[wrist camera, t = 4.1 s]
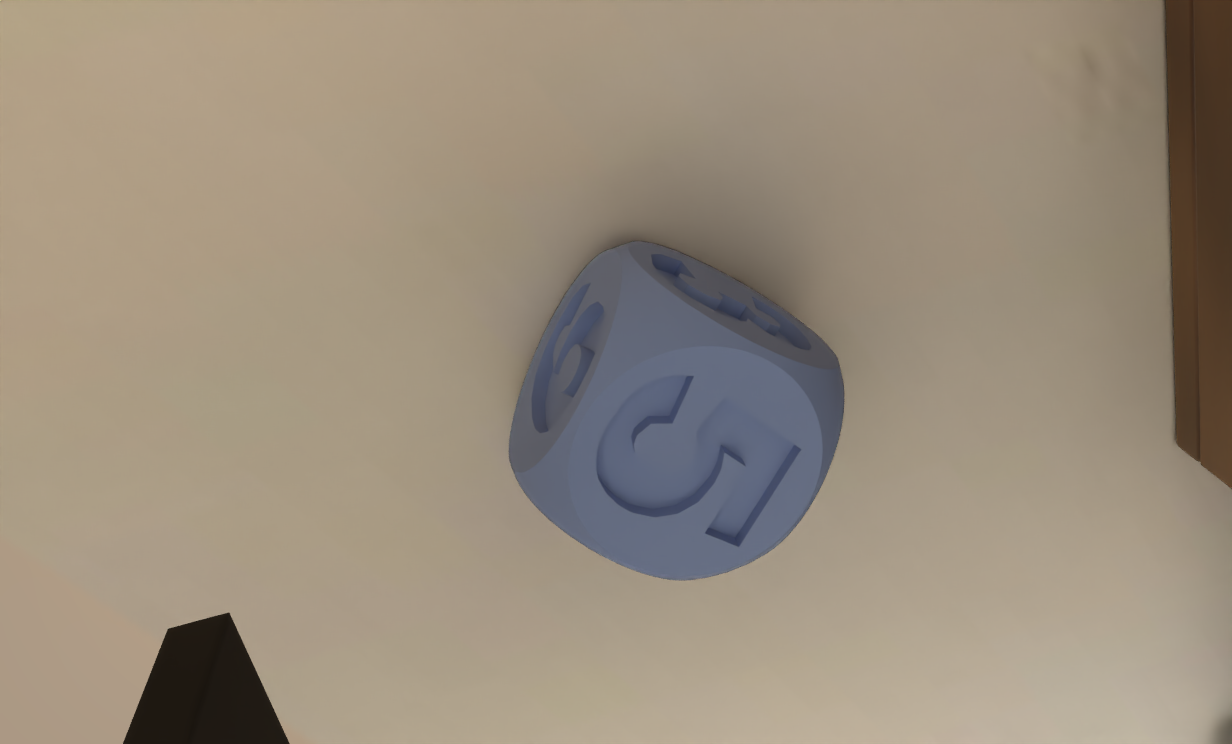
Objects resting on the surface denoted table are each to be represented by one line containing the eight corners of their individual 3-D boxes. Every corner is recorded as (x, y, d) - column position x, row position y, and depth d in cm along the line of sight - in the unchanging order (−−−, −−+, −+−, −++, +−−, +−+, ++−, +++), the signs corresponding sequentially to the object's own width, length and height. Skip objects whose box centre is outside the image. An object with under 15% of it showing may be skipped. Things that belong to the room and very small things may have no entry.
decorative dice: (692, 490, 21) (743, 615, 18) (499, 410, 20) (513, 527, 17) (802, 310, 20) (881, 404, 17) (605, 213, 19) (644, 293, 15)
